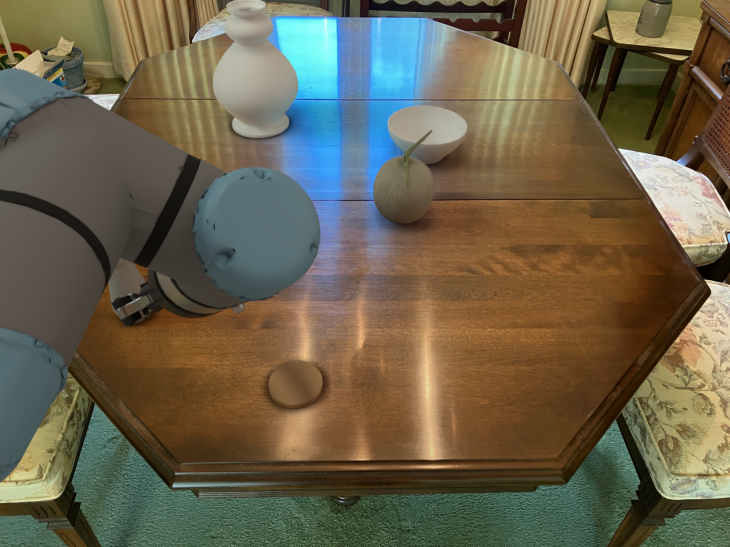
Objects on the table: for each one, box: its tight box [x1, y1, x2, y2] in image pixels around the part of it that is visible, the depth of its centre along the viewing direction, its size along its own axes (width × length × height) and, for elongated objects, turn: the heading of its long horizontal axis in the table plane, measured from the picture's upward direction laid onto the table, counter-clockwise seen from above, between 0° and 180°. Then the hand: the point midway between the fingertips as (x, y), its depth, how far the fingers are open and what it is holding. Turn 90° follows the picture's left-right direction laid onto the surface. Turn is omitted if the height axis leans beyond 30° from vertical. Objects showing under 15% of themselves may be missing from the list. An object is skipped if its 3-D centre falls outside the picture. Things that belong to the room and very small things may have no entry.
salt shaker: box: [108, 258, 152, 324], centre depth 77 cm, size 6×6×13 cm
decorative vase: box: [212, 0, 299, 139], centre depth 114 cm, size 18×18×25 cm
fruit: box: [372, 130, 435, 225], centre depth 94 cm, size 10×12×15 cm
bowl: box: [387, 105, 469, 165], centre depth 112 cm, size 16×16×7 cm
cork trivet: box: [268, 360, 324, 409], centre depth 72 cm, size 7×7×1 cm
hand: (154, 300), depth 64 cm, fingers closed
